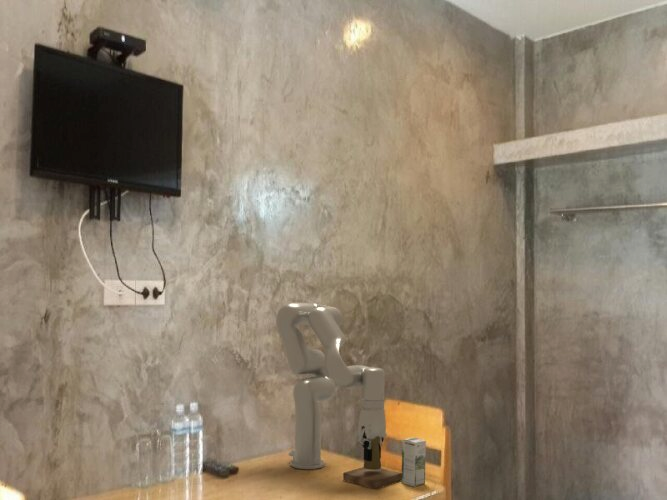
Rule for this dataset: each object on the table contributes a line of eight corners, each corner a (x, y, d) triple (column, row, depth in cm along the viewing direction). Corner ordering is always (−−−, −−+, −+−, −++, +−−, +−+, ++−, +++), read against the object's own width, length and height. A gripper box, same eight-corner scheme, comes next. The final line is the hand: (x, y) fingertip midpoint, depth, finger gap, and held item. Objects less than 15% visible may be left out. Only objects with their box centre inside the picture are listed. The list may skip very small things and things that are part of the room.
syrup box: (411, 480, 213) (412, 436, 215) (425, 484, 209) (426, 439, 210) (401, 483, 209) (401, 439, 211) (415, 487, 205) (415, 442, 206)
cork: (380, 470, 209) (380, 436, 210) (362, 469, 210) (362, 435, 211) (382, 465, 215) (382, 432, 216) (364, 464, 216) (365, 431, 217)
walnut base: (343, 480, 212) (343, 472, 212) (369, 472, 222) (369, 465, 222) (375, 489, 202) (375, 481, 203) (401, 480, 213) (401, 473, 213)
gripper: (379, 400, 223) (378, 453, 222) (348, 405, 211) (347, 461, 209) (396, 403, 218) (396, 457, 217) (365, 408, 206) (365, 466, 204)
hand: (372, 458), depth 213 cm, fingers closed on cork, 4 cm apart
